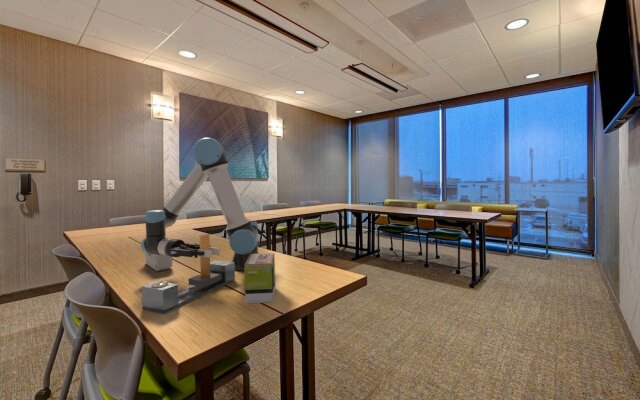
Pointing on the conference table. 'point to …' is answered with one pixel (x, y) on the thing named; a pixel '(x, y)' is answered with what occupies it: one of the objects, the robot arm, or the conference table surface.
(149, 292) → the rail
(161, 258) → the stereo radio cassette player
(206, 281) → the carriage
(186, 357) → the conference table surface
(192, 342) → the conference table surface
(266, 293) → the tea box
